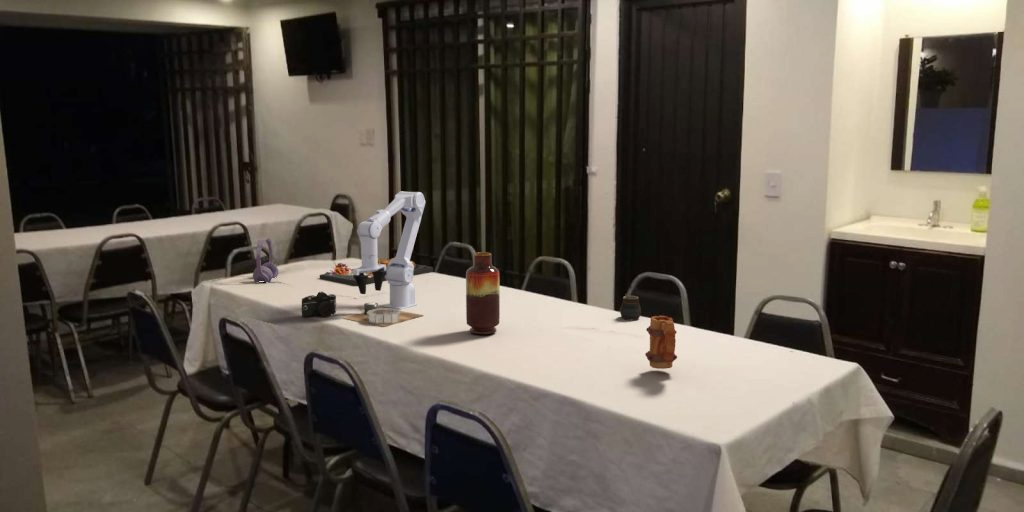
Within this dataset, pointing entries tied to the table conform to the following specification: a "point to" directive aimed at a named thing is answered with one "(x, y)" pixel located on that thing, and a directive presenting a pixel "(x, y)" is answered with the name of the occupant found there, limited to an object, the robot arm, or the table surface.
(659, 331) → the mug
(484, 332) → the vase
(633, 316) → the mate gourd
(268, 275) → the headphones
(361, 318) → the board
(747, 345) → the table surface
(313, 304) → the film camera
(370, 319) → the grey faceted ring
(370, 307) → the cap
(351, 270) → the food platter
